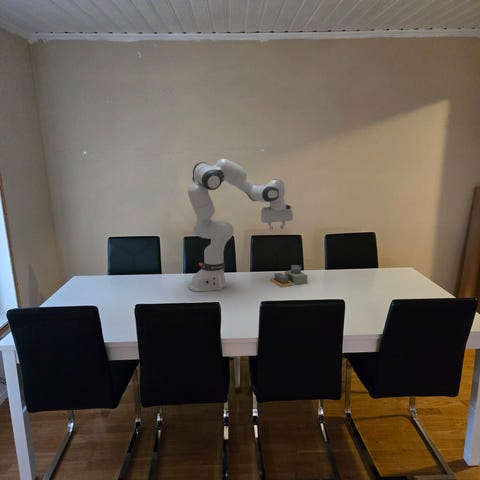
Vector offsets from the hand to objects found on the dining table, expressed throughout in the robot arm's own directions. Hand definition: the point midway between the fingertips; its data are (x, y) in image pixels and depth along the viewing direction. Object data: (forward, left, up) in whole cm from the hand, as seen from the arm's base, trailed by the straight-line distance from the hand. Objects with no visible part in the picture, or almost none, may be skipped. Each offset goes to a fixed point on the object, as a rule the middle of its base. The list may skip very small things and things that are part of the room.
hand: (276, 229), depth 233 cm
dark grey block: (-2, -10, -31) cm, 33 cm away
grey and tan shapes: (+2, -10, -31) cm, 33 cm away
